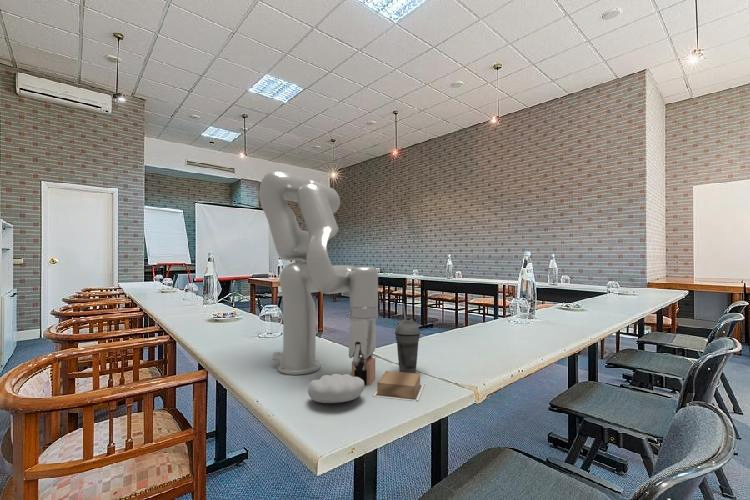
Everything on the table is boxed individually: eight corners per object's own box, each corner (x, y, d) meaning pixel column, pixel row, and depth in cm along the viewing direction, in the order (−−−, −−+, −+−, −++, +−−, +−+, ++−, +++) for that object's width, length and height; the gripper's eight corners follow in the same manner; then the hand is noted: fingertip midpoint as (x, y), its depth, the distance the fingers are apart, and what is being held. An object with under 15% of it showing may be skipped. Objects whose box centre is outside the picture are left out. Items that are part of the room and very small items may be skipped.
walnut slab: (377, 395, 85) (377, 382, 85) (386, 382, 93) (386, 370, 93) (414, 399, 82) (414, 386, 82) (420, 385, 91) (420, 373, 91)
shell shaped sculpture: (357, 417, 74) (357, 386, 74) (300, 413, 76) (300, 383, 76) (369, 393, 87) (369, 367, 87) (319, 390, 89) (319, 364, 89)
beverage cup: (419, 378, 97) (419, 305, 98) (393, 376, 99) (393, 304, 99) (421, 370, 104) (421, 302, 105) (396, 368, 106) (396, 301, 106)
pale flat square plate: (372, 398, 84) (372, 396, 84) (383, 382, 95) (383, 380, 95) (418, 403, 81) (418, 401, 81) (424, 386, 92) (424, 384, 92)
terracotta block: (351, 384, 93) (351, 361, 93) (357, 378, 98) (357, 356, 98) (370, 386, 91) (370, 363, 92) (375, 380, 96) (375, 358, 96)
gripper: (360, 307, 104) (360, 370, 104) (339, 317, 88) (339, 391, 87) (385, 308, 102) (385, 372, 102) (368, 318, 86) (368, 394, 85)
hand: (363, 380), depth 95 cm, fingers closed on terracotta block, 5 cm apart
